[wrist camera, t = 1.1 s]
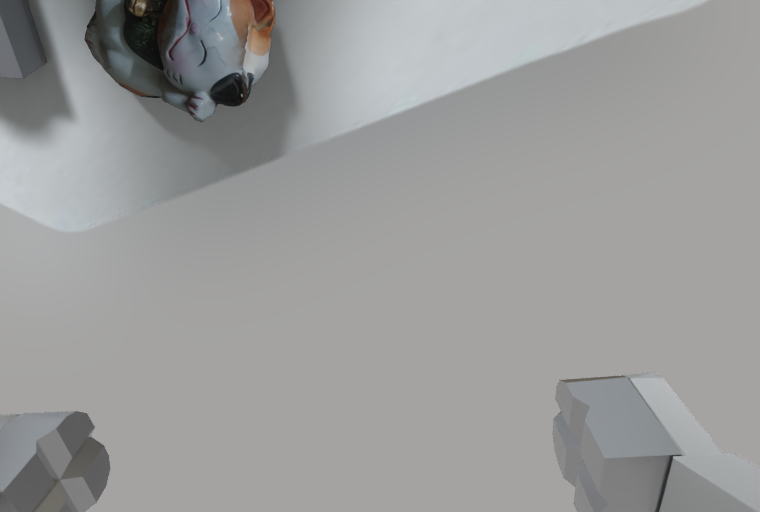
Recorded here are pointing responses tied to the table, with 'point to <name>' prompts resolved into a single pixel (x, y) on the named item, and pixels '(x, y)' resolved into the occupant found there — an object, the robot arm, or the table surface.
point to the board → (18, 40)
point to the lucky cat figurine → (184, 49)
